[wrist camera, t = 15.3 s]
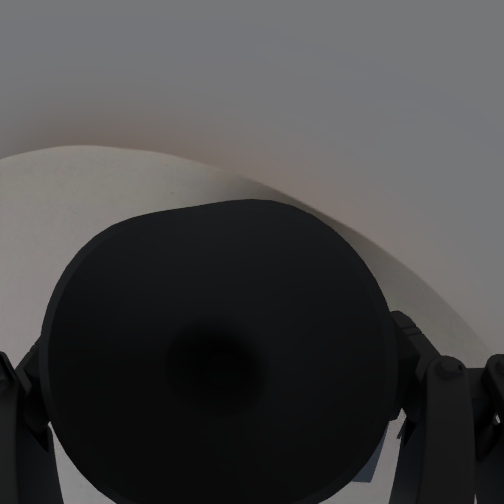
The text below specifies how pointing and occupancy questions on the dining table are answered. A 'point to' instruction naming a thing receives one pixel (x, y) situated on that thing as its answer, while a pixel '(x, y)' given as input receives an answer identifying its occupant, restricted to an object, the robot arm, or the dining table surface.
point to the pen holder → (218, 357)
